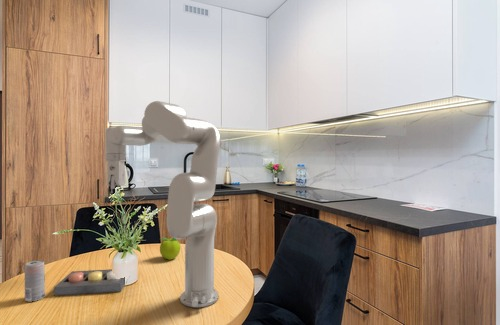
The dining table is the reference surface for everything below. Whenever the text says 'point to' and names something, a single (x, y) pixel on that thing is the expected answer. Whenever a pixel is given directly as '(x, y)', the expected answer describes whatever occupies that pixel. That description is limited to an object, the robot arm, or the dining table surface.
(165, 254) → the fruit
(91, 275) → the mustard button
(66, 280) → the grey compartment tray
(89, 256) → the dining table surface
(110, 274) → the ivory button
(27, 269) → the energy drink
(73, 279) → the brick button
